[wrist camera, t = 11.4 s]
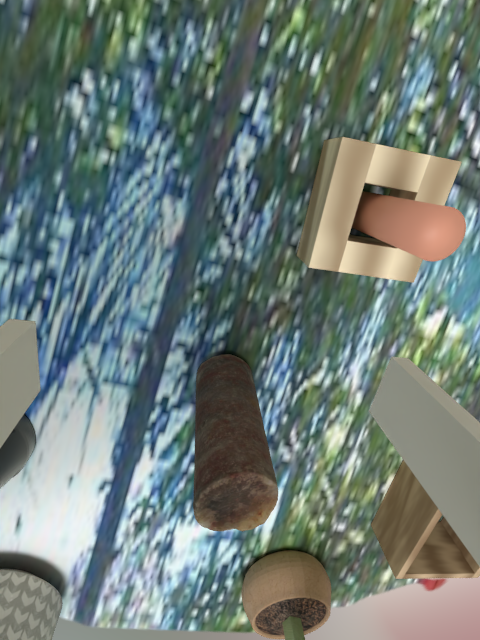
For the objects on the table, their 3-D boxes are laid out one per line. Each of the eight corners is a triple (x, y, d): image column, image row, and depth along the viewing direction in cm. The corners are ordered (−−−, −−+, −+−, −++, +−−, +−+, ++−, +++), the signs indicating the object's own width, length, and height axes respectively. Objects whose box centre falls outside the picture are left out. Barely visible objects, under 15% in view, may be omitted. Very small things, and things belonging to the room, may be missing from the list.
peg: (338, 225, 38) (405, 257, 25) (349, 188, 36) (425, 202, 24) (371, 231, 39) (451, 264, 26) (382, 194, 37) (475, 211, 24)
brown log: (211, 339, 43) (216, 469, 25) (261, 359, 45) (300, 493, 27) (187, 385, 45) (176, 532, 27) (235, 402, 47) (255, 549, 29)
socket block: (296, 255, 39) (308, 267, 34) (324, 140, 34) (342, 137, 30) (390, 269, 41) (413, 282, 36) (429, 162, 36) (461, 162, 31)
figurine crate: (370, 524, 62) (395, 578, 54) (409, 447, 55) (445, 497, 46) (443, 525, 65) (478, 577, 57) (490, 451, 57) (538, 499, 49)
